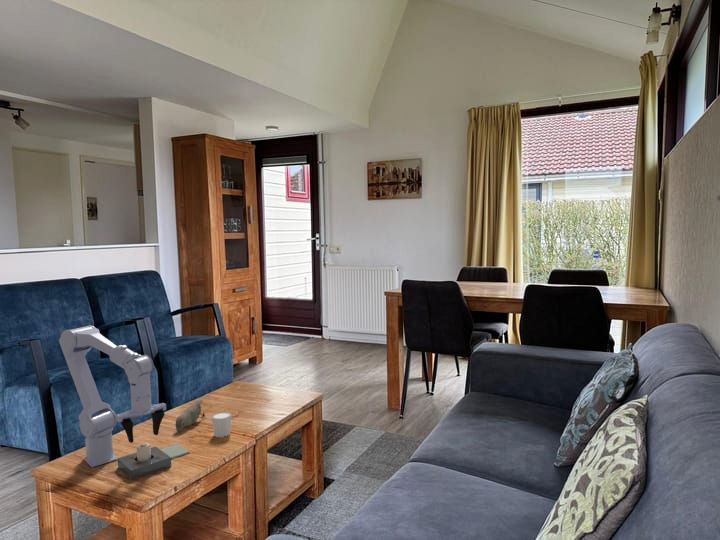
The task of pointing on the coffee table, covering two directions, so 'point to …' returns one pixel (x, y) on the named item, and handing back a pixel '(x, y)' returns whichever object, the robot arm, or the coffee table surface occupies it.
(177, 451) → the mat
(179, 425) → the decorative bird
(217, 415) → the white tapered cylinder
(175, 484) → the coffee table surface
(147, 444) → the plug
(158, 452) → the housing
